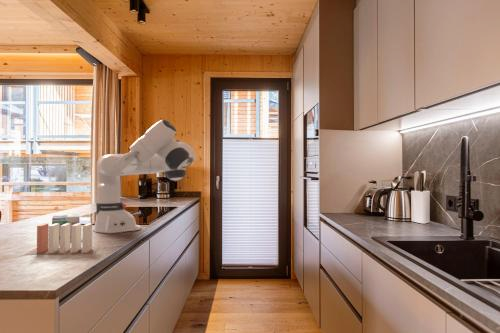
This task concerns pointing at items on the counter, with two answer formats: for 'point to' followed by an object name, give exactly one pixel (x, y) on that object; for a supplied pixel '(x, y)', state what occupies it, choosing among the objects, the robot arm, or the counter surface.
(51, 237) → the domino
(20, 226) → the counter surface
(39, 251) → the domino
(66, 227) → the domino
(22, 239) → the counter surface
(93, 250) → the thin board
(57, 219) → the light bulb box
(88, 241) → the domino
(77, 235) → the domino
